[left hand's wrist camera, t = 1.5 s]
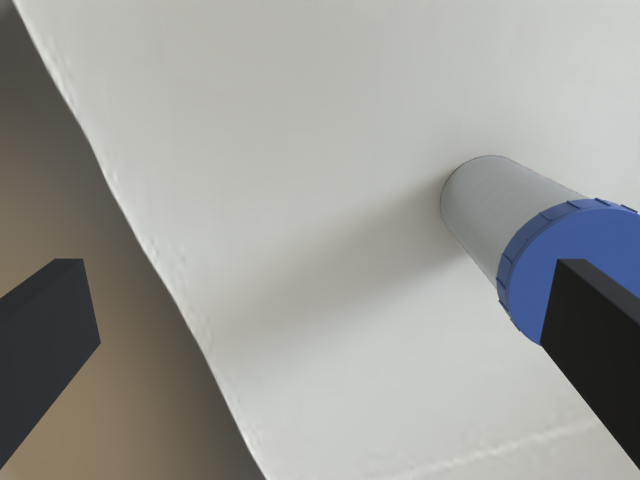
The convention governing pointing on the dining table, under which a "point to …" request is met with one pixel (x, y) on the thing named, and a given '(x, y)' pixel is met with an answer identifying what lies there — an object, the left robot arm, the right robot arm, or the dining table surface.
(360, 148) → the dining table surface
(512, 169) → the jar
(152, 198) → the dining table surface
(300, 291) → the dining table surface
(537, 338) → the lid
